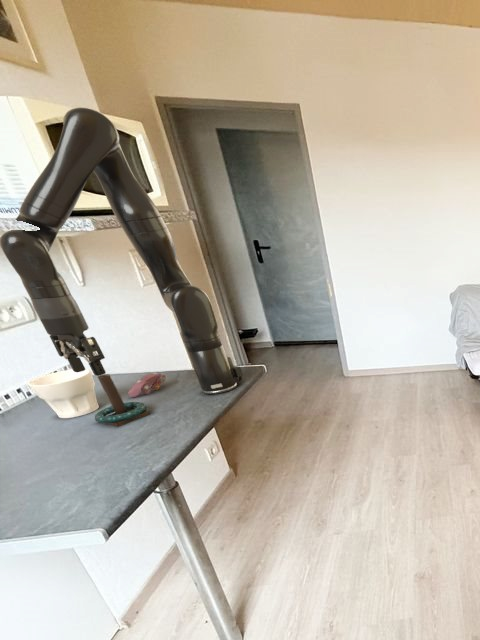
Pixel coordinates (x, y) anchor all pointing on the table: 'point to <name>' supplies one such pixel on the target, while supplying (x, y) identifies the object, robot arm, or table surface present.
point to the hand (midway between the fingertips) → (90, 373)
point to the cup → (67, 392)
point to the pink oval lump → (147, 384)
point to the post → (116, 401)
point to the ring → (103, 417)
